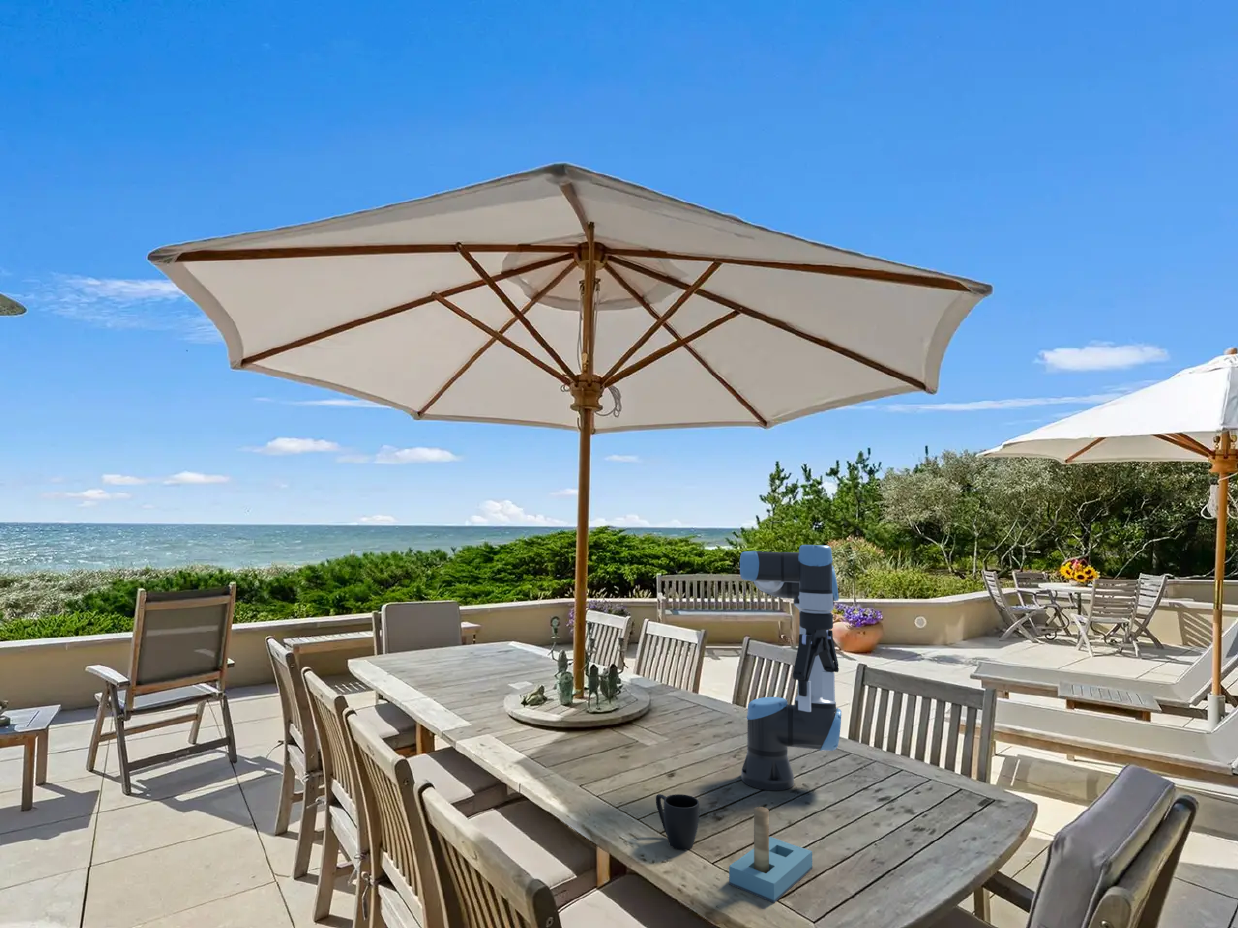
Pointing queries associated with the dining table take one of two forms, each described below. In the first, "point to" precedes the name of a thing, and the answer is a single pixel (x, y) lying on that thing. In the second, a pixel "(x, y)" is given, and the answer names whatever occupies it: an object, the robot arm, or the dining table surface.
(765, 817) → the dowel
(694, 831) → the mug
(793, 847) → the bore slab
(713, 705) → the dining table surface
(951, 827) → the dining table surface
